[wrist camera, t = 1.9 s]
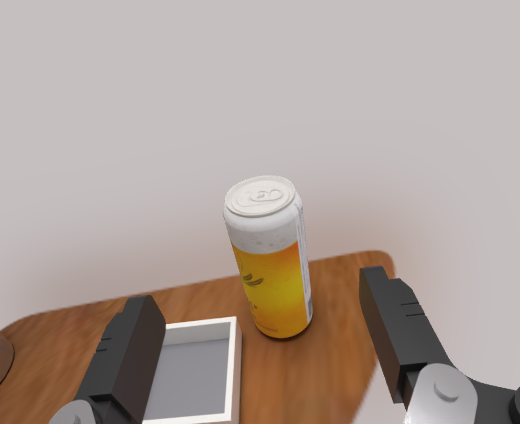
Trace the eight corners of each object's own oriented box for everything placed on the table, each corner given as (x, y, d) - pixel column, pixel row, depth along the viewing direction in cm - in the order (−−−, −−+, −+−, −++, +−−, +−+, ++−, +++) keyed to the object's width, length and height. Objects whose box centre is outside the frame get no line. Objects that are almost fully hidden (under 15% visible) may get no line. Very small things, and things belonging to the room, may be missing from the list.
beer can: (257, 292, 35) (228, 176, 26) (312, 291, 34) (300, 169, 25) (250, 342, 30) (211, 221, 21) (314, 343, 29) (300, 215, 20)
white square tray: (132, 445, 24) (115, 430, 23) (159, 343, 31) (148, 326, 30) (239, 436, 24) (230, 420, 22) (242, 334, 31) (236, 316, 29)
